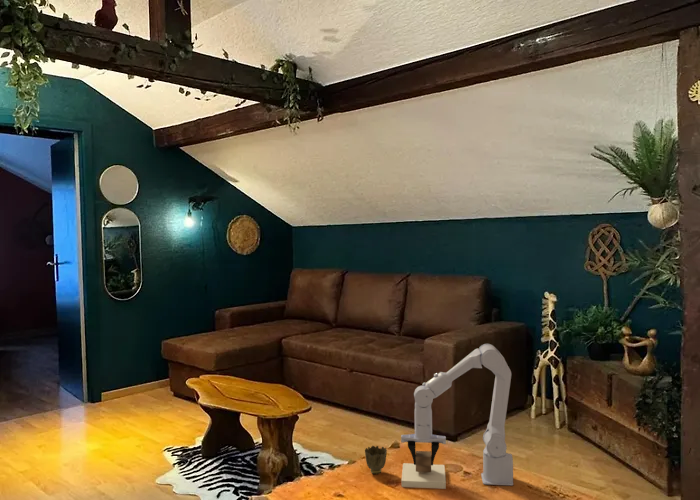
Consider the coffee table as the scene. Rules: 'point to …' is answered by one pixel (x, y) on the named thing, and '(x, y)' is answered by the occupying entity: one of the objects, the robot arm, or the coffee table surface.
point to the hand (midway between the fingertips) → (423, 463)
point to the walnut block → (423, 461)
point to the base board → (423, 477)
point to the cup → (375, 458)
